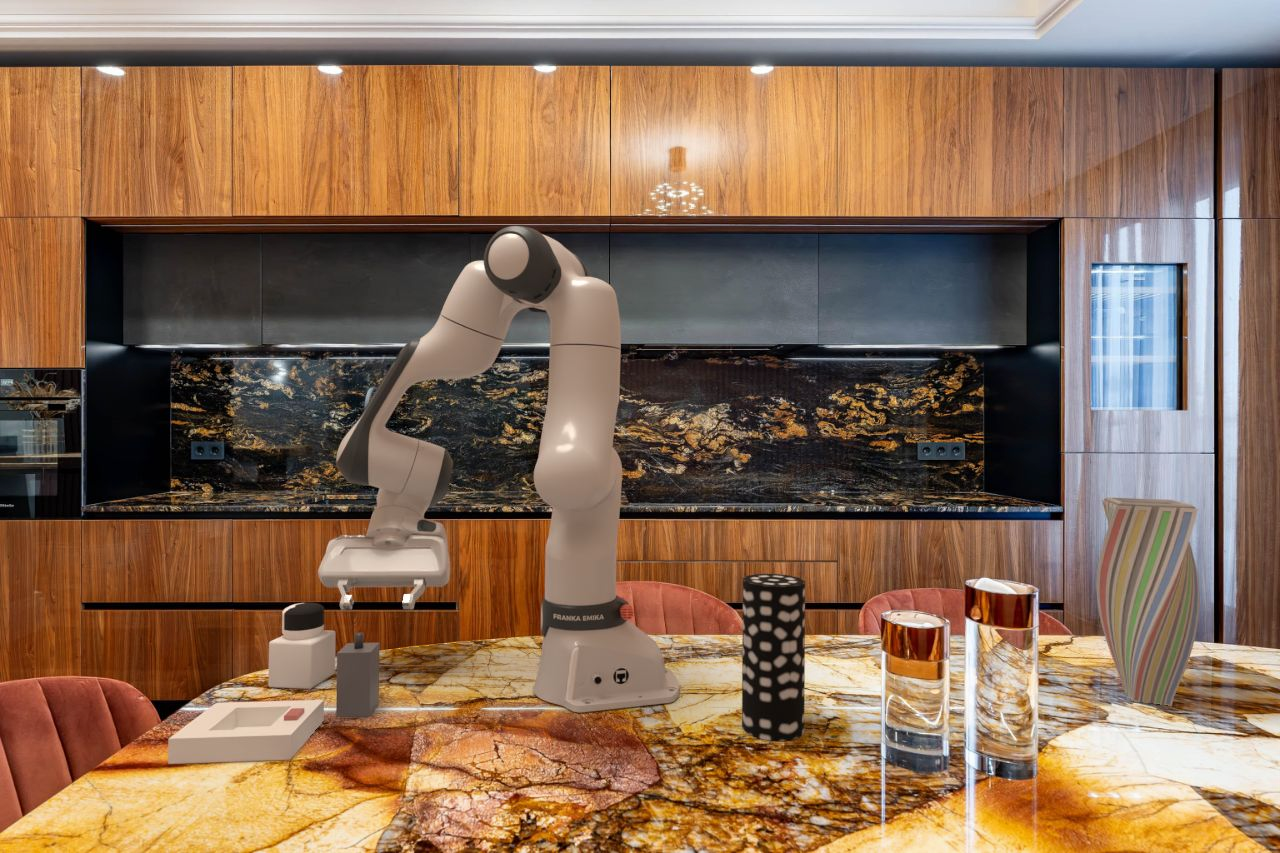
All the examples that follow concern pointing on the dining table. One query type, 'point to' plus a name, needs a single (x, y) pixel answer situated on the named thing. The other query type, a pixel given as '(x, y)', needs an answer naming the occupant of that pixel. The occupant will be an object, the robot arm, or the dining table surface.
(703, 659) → the dining table surface
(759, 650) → the white-spotted black cylinder
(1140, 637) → the vase
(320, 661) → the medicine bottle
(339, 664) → the plug
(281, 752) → the socket
